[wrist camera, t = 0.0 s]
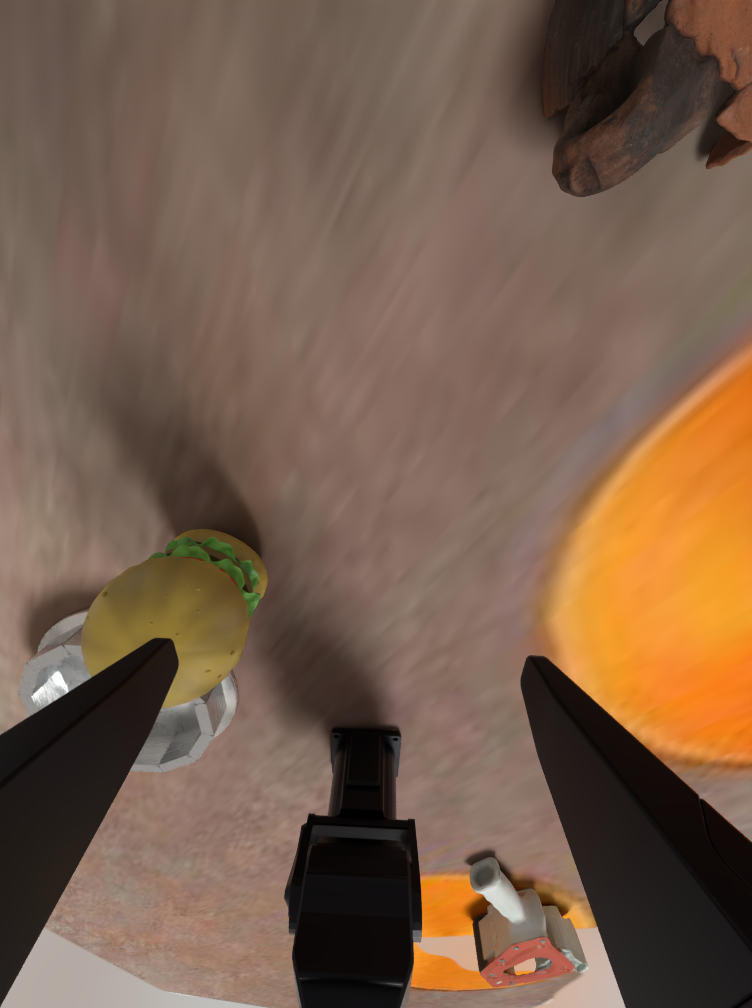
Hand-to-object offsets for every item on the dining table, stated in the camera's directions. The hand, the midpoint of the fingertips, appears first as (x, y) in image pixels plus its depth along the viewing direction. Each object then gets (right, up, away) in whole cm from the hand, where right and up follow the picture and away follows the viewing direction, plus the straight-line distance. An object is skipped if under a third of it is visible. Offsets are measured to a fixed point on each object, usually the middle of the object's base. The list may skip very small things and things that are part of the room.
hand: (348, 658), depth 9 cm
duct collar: (-20, -12, +22) cm, 32 cm away
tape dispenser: (+19, -48, +37) cm, 63 cm away
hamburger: (-10, +1, +16) cm, 19 cm away
